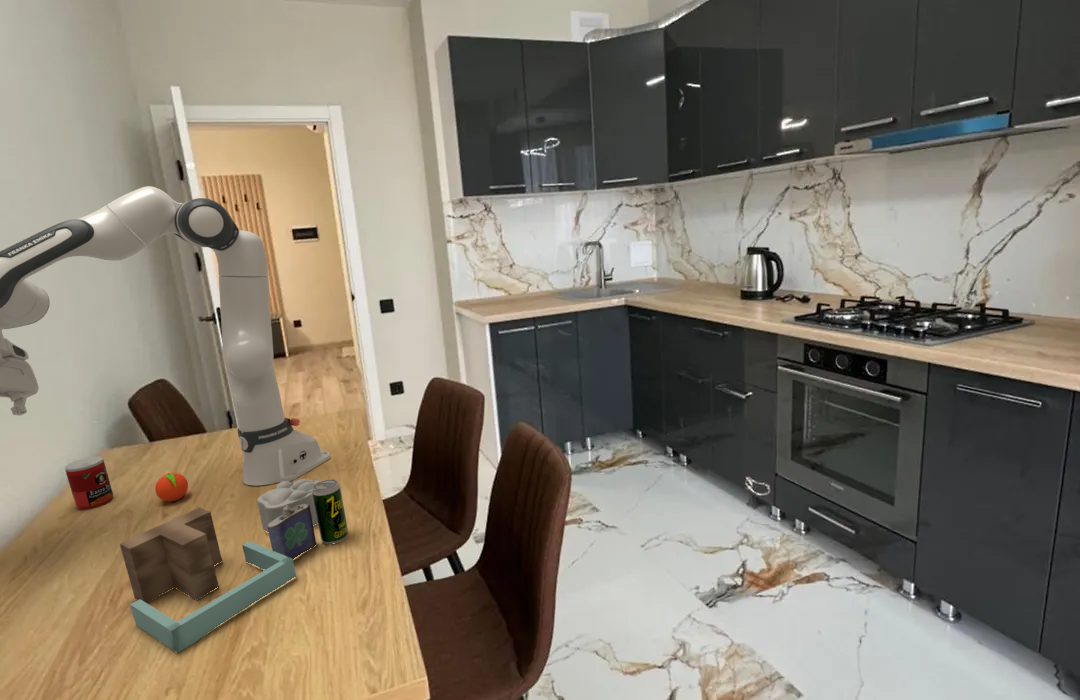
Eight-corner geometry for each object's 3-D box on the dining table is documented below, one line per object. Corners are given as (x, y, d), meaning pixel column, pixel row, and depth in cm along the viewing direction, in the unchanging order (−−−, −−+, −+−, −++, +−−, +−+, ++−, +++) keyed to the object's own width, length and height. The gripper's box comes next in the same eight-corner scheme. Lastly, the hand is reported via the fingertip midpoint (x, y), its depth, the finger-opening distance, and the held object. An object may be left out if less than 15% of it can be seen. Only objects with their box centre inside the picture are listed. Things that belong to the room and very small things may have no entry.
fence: (253, 559, 114) (249, 541, 113) (296, 578, 107) (292, 558, 106) (136, 625, 97) (130, 604, 96) (177, 653, 90) (171, 631, 89)
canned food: (94, 510, 142) (82, 469, 140) (68, 510, 144) (56, 469, 142) (121, 495, 150) (111, 456, 147) (96, 495, 151) (85, 456, 149)
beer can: (315, 544, 118) (305, 490, 115) (332, 530, 123) (322, 478, 120) (338, 546, 116) (328, 491, 113) (354, 532, 121) (344, 479, 118)
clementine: (196, 499, 144) (189, 472, 142) (164, 510, 139) (157, 483, 137) (186, 490, 149) (179, 465, 148) (155, 501, 144) (148, 475, 143)
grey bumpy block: (258, 527, 127) (250, 490, 125) (315, 503, 136) (309, 469, 134) (277, 542, 120) (269, 504, 118) (336, 516, 129) (329, 480, 127)
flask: (281, 569, 110) (270, 518, 107) (271, 566, 111) (260, 516, 109) (320, 544, 118) (310, 496, 115) (310, 541, 119) (300, 494, 117)
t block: (211, 557, 116) (199, 507, 114) (245, 572, 110) (233, 520, 107) (134, 597, 105) (119, 543, 103) (166, 617, 99) (151, 560, 96)
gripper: (-54, 334, 108) (-29, 400, 106) (33, 353, 128) (55, 409, 126) (-89, 349, 107) (-65, 416, 105) (3, 365, 127) (25, 422, 125)
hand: (1, 412), depth 116 cm, fingers open, 8 cm apart
